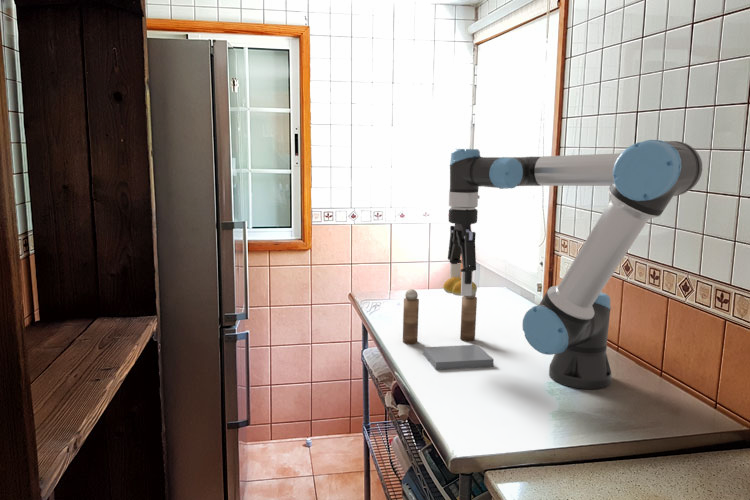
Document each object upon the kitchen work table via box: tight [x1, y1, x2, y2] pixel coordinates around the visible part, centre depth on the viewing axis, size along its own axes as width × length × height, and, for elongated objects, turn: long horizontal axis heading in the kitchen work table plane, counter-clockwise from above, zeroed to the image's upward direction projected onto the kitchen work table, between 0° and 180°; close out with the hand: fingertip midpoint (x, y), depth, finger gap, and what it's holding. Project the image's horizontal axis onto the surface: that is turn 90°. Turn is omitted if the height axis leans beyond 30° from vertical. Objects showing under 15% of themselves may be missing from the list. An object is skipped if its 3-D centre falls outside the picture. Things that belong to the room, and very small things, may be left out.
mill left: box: [402, 288, 420, 345], centre depth 183 cm, size 4×4×16 cm
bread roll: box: [442, 277, 478, 297], centre depth 167 cm, size 8×9×4 cm
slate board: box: [422, 344, 494, 371], centre depth 170 cm, size 12×16×2 cm
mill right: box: [459, 292, 478, 342], centre depth 186 cm, size 4×4×16 cm
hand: (460, 291), depth 167 cm, fingers closed on bread roll, 9 cm apart
